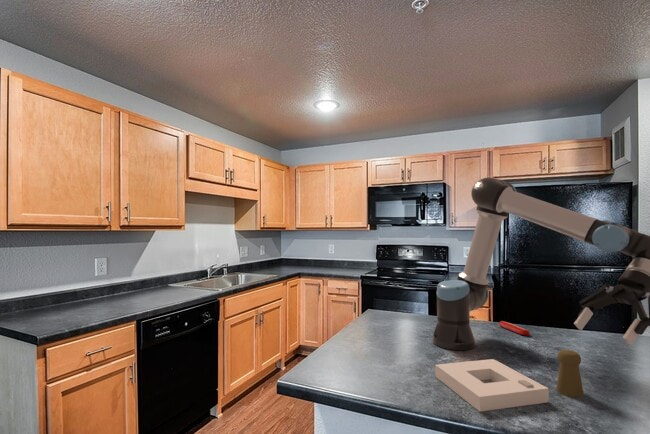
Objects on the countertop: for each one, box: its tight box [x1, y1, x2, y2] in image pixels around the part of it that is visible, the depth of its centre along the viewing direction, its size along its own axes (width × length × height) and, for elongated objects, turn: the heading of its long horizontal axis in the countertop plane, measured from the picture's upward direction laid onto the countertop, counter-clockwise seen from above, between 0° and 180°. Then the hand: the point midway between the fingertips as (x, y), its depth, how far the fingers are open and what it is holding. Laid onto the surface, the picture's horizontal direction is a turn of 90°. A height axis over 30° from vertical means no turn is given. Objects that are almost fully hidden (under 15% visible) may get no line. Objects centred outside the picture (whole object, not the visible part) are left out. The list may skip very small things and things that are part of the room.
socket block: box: [434, 358, 550, 413], centre depth 95 cm, size 20×20×4 cm
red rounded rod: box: [498, 320, 531, 337], centre depth 148 cm, size 16×4×3 cm, turn 11°
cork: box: [556, 349, 585, 399], centre depth 93 cm, size 6×6×11 cm
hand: (600, 333), depth 95 cm, fingers open, 13 cm apart
